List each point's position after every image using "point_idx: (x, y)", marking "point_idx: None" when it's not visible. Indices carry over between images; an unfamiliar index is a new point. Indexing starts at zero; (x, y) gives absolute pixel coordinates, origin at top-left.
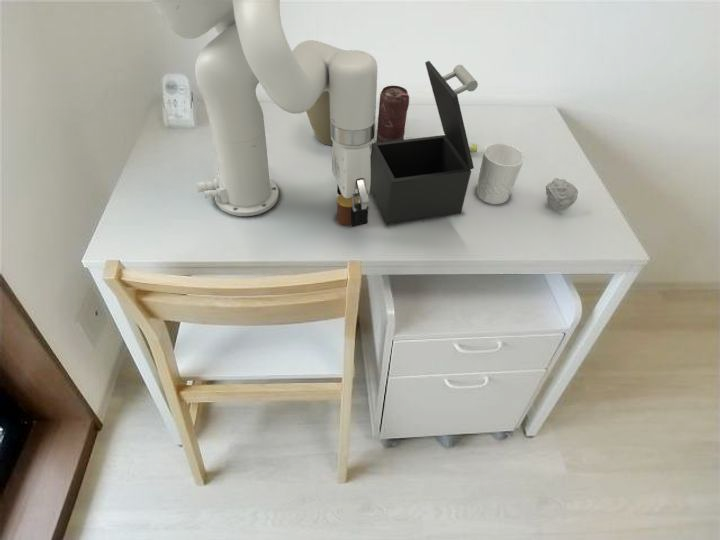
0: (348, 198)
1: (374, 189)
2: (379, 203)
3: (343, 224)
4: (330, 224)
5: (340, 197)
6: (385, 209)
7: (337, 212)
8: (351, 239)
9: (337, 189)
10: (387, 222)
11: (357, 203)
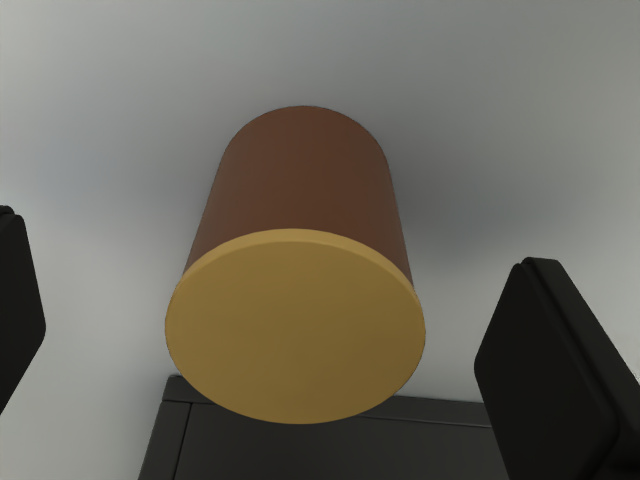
0: (304, 352)
1: (461, 459)
2: (336, 425)
3: (235, 136)
4: (285, 23)
5: (357, 289)
6: (205, 457)
7: (315, 148)
8: (46, 128)
9: (572, 288)
10: (163, 394)
11: (205, 388)
